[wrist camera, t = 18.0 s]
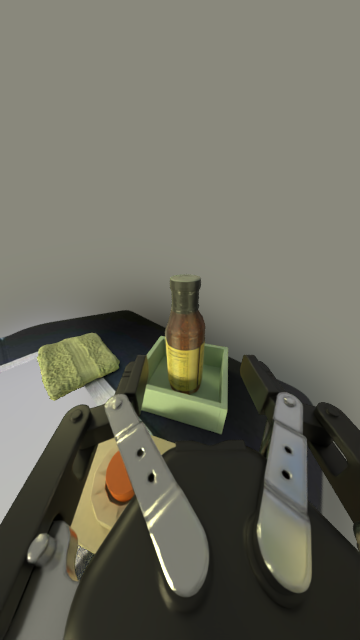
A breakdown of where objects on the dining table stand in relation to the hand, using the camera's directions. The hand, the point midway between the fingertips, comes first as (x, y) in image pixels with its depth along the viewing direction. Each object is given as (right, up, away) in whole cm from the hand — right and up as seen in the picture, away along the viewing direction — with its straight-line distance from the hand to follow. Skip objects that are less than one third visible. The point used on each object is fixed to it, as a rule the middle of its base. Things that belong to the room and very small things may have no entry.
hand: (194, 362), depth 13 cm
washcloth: (-24, -6, +22) cm, 33 cm away
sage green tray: (0, -9, +17) cm, 19 cm away
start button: (-6, -12, +3) cm, 14 cm away
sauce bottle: (0, -9, +16) cm, 18 cm away
